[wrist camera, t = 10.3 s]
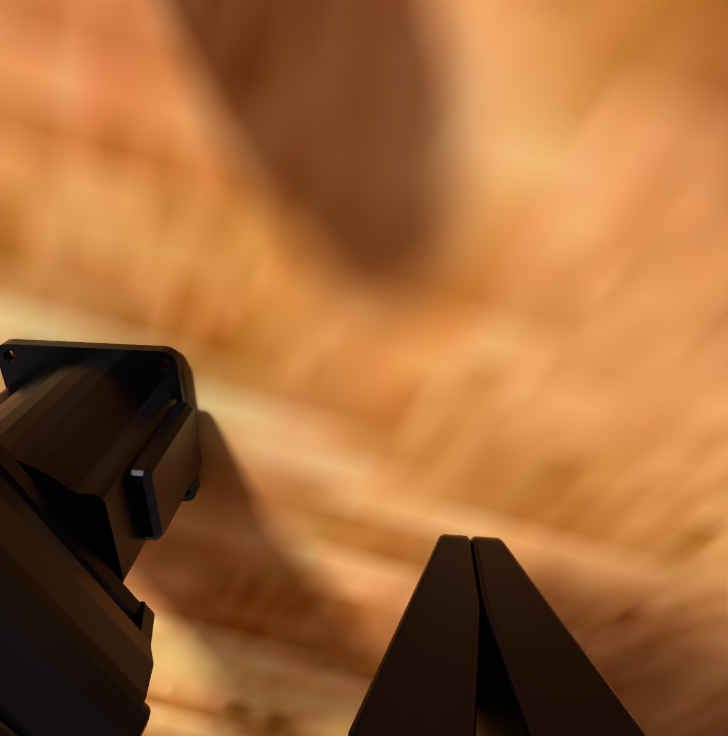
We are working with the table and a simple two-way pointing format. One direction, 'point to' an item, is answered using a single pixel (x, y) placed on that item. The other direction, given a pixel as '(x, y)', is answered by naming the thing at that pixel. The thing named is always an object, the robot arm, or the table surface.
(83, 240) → the table surface
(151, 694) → the table surface
